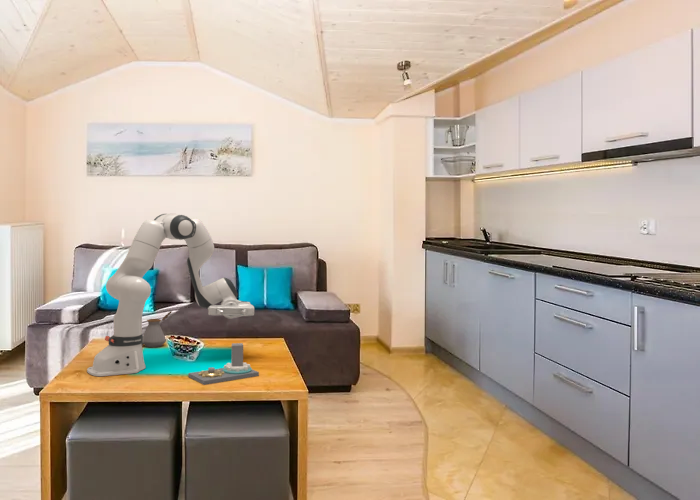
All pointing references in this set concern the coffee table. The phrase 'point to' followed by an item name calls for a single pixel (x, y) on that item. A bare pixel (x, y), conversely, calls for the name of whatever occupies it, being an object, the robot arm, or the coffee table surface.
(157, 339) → the coffee pot
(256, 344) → the coffee table surface
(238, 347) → the loose gear
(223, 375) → the gear board
